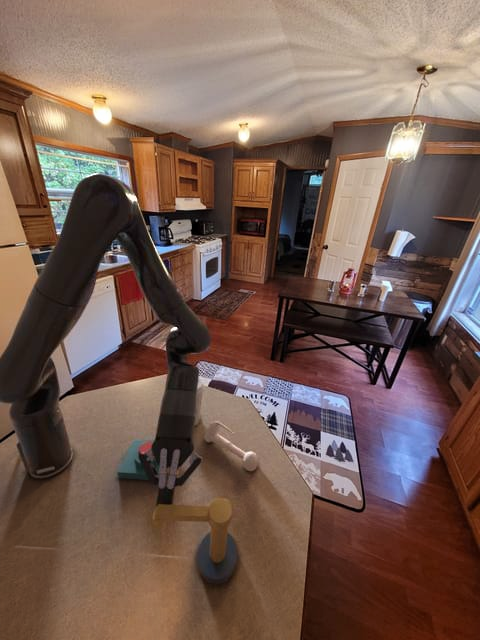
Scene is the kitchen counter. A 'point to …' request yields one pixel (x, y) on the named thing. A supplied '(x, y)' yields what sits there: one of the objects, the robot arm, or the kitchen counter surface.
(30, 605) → the kitchen counter surface
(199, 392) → the coffee cup
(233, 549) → the tap base
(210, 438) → the faucet
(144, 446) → the button
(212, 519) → the spout
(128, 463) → the control block
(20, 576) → the kitchen counter surface
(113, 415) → the kitchen counter surface
